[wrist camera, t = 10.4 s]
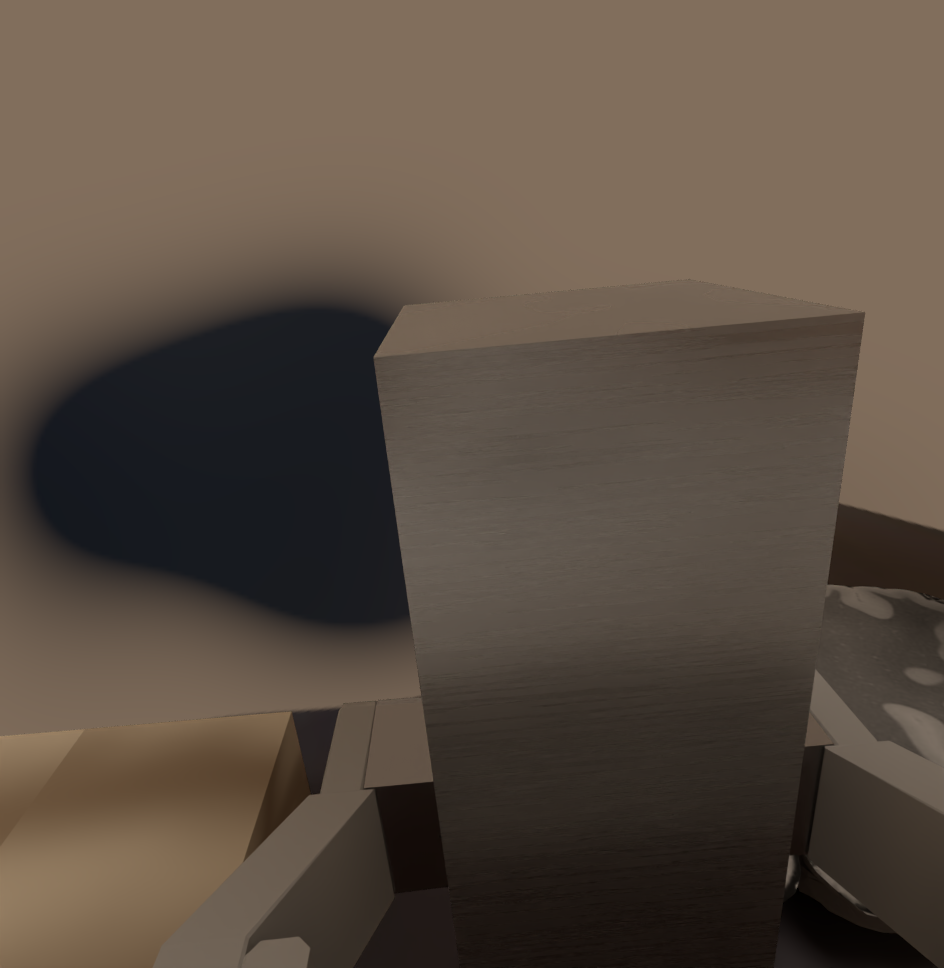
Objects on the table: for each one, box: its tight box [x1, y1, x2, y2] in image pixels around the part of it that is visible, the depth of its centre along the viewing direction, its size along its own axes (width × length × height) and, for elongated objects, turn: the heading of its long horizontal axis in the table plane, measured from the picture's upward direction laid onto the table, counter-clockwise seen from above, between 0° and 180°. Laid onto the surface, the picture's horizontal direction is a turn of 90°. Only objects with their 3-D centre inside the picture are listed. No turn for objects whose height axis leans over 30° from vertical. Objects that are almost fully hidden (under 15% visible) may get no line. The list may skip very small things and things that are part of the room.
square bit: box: [374, 279, 865, 968], centre depth 9 cm, size 4×4×14 cm
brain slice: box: [783, 584, 944, 933], centre depth 23 cm, size 20×17×3 cm
